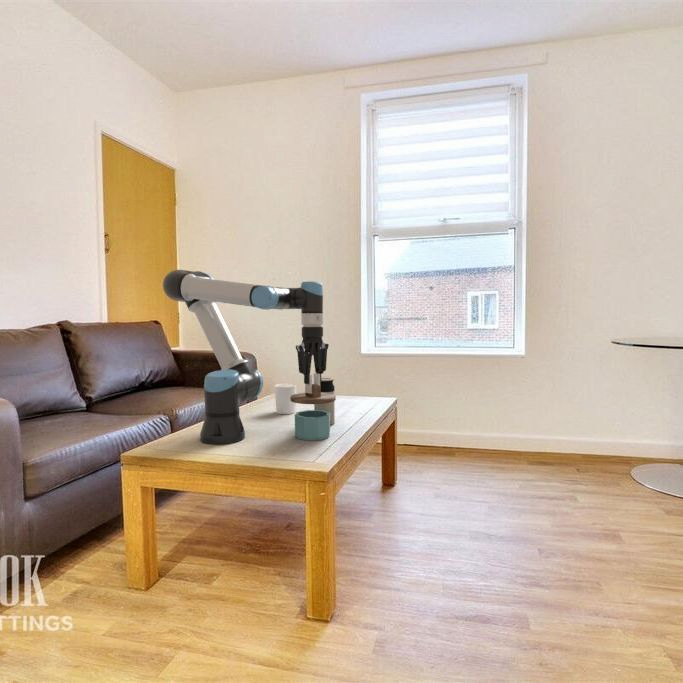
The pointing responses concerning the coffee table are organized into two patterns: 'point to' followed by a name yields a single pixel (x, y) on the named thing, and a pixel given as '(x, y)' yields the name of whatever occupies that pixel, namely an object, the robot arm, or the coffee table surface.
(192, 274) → the robot arm
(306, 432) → the bowl
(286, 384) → the candle holder
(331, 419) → the travel mug
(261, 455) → the coffee table surface
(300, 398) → the lid
